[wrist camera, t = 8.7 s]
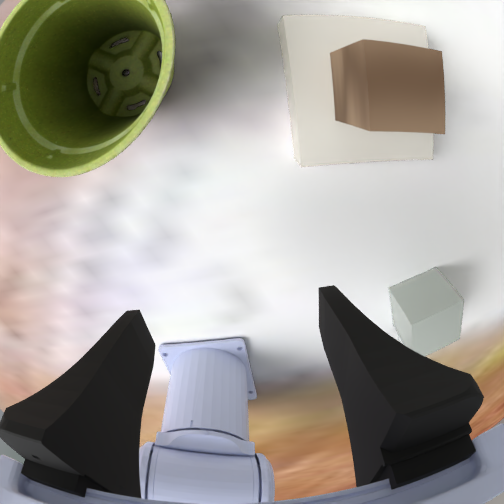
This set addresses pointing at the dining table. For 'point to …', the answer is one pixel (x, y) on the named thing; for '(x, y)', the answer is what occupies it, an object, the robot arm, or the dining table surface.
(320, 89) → the cream block
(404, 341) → the grey cube
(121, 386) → the robot arm
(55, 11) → the plant pot
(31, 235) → the dining table surface
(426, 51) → the walnut block
